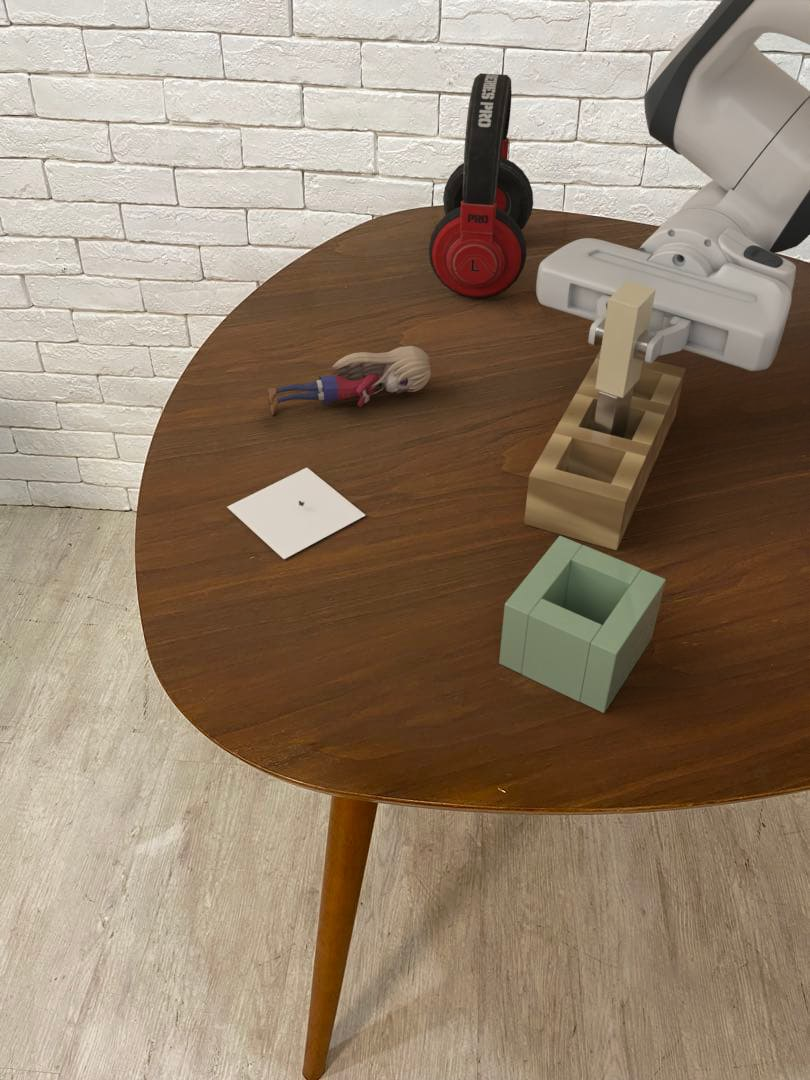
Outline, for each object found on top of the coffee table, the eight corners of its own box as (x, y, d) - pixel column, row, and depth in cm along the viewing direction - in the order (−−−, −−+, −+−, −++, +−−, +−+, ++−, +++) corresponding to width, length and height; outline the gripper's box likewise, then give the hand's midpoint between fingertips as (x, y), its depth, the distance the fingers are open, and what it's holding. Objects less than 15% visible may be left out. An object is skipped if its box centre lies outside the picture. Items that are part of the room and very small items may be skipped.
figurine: (270, 402, 90) (439, 371, 92) (261, 358, 91) (427, 328, 93) (274, 431, 96) (433, 401, 97) (265, 389, 97) (422, 360, 99)
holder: (652, 638, 74) (666, 578, 70) (603, 714, 70) (616, 654, 66) (551, 594, 78) (559, 534, 74) (498, 663, 73) (504, 603, 69)
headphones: (520, 313, 107) (538, 116, 94) (424, 305, 109) (428, 109, 95) (530, 235, 120) (547, 51, 107) (444, 228, 121) (450, 46, 108)
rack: (594, 395, 97) (601, 348, 93) (675, 415, 94) (685, 368, 91) (523, 524, 84) (528, 475, 80) (616, 550, 81) (626, 501, 78)
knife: (626, 456, 89) (657, 288, 79) (608, 479, 87) (637, 309, 76) (600, 447, 90) (627, 279, 80) (582, 469, 88) (607, 299, 77)
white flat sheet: (226, 507, 85) (225, 499, 84) (306, 467, 89) (306, 460, 88) (283, 559, 80) (283, 552, 80) (365, 515, 84) (365, 507, 83)
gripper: (581, 206, 91) (503, 271, 82) (817, 269, 83) (757, 349, 74) (573, 272, 95) (498, 341, 86) (796, 339, 87) (738, 422, 78)
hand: (620, 345), depth 80 cm, fingers closed on knife, 2 cm apart
